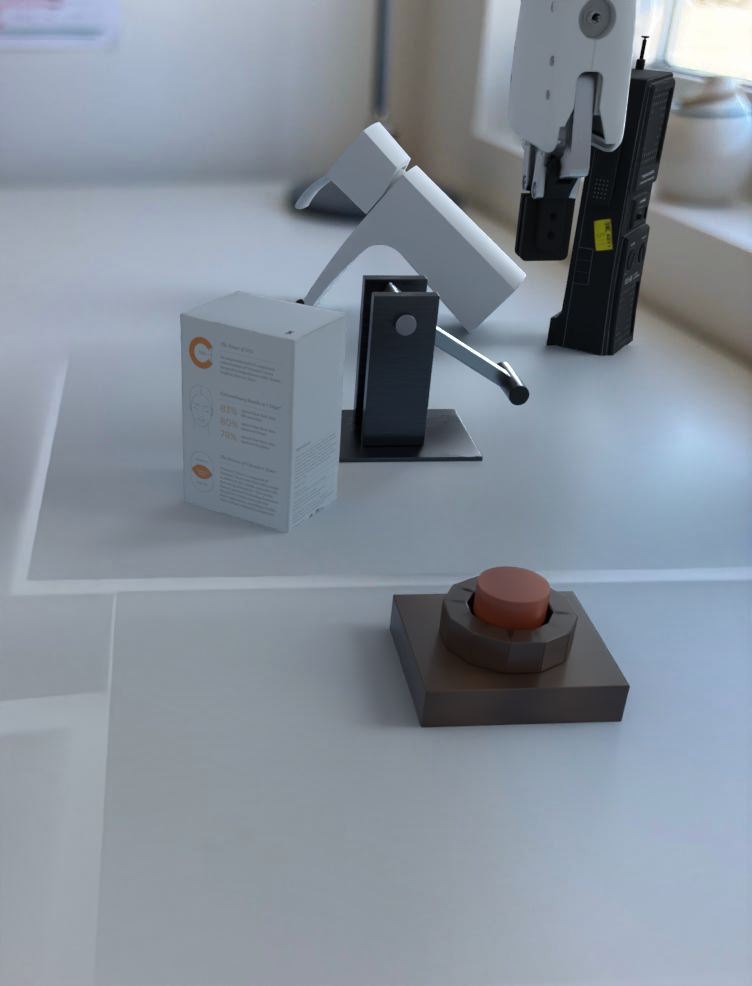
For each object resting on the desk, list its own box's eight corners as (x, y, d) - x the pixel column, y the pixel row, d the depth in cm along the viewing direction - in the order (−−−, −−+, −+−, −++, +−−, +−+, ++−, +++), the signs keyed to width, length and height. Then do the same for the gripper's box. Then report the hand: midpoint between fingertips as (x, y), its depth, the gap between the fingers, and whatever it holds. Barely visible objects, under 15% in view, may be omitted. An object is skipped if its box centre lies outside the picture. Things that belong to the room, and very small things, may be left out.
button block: (566, 624, 63) (579, 561, 61) (621, 722, 56) (638, 654, 53) (389, 628, 62) (395, 564, 60) (421, 728, 55) (429, 660, 52)
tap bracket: (453, 423, 87) (472, 267, 81) (481, 472, 80) (504, 305, 73) (298, 424, 86) (305, 266, 80) (311, 474, 79) (320, 305, 72)
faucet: (517, 289, 101) (361, 121, 99) (393, 405, 111) (248, 255, 108) (529, 271, 106) (380, 111, 104) (410, 384, 116) (271, 240, 113)
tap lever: (498, 389, 84) (519, 362, 83) (516, 414, 80) (538, 386, 79) (365, 305, 80) (385, 275, 79) (377, 327, 75) (398, 296, 74)
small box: (338, 509, 74) (351, 311, 67) (286, 547, 70) (294, 339, 63) (236, 478, 78) (237, 287, 71) (180, 512, 73) (176, 312, 66)
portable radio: (604, 370, 98) (668, 46, 84) (539, 356, 101) (590, 40, 87) (633, 346, 104) (697, 39, 90) (571, 333, 106) (623, 33, 93)
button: (533, 594, 59) (539, 565, 58) (554, 632, 56) (560, 601, 55) (465, 596, 58) (469, 566, 57) (482, 634, 55) (486, 603, 54)
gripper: (694, -62, 60) (633, 287, 70) (601, -66, 73) (561, 230, 83) (556, -62, 60) (514, 290, 70) (487, -66, 72) (460, 232, 82)
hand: (540, 257), depth 76 cm, fingers closed
